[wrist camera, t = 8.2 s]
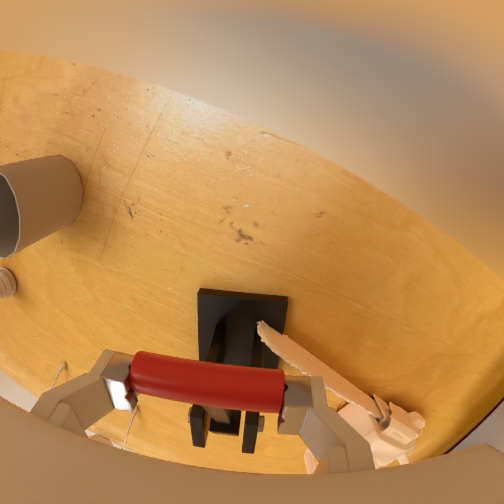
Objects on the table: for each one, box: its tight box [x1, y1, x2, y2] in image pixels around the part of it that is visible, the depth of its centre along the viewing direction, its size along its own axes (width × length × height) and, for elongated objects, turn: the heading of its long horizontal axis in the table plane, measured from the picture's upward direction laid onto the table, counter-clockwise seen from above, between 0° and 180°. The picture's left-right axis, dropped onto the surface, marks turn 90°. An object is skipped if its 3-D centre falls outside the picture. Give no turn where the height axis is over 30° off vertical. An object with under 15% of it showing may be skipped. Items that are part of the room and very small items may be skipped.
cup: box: [0, 155, 83, 259], centre depth 23 cm, size 8×8×10 cm
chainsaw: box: [257, 321, 426, 474], centre depth 30 cm, size 15×35×12 cm, turn 48°
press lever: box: [130, 351, 285, 436], centre depth 16 cm, size 16×6×2 cm
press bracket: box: [188, 288, 288, 454], centre depth 26 cm, size 11×9×14 cm
